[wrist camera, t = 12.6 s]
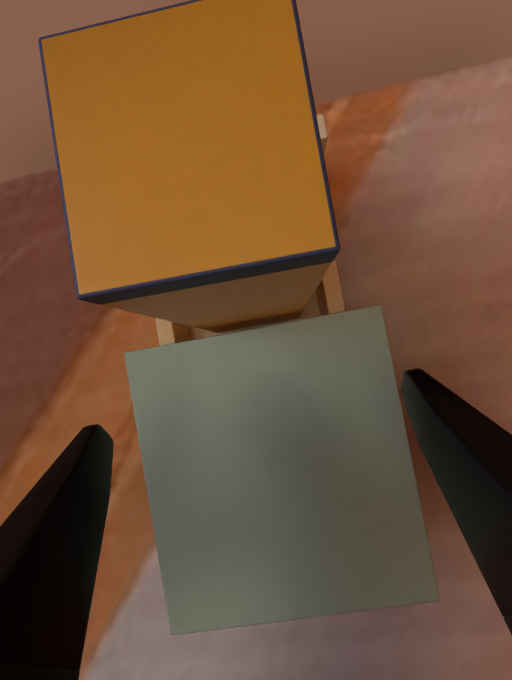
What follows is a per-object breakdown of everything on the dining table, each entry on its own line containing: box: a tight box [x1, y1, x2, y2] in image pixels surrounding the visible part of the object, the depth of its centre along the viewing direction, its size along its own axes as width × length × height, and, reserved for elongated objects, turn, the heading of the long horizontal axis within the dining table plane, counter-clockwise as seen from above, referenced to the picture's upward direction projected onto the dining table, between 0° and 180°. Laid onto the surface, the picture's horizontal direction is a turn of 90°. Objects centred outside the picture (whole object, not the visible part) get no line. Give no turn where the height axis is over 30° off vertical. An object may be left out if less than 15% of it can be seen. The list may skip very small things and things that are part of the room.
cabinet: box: [124, 305, 440, 635], centre depth 18 cm, size 13×12×6 cm
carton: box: [38, 0, 340, 333], centre depth 12 cm, size 5×5×13 cm
